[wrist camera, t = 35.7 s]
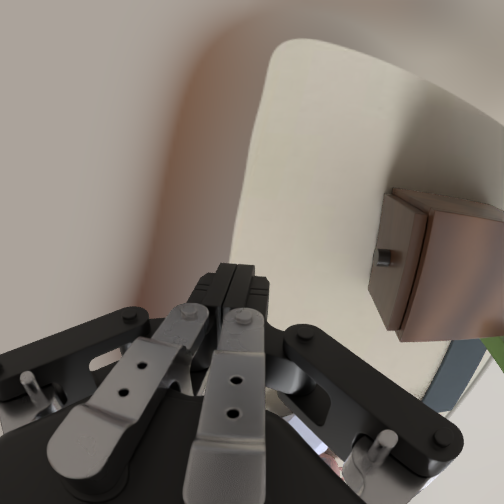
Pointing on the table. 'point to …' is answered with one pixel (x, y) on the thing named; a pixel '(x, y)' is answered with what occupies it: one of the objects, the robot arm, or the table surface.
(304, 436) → the wedge on round base
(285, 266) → the table surface
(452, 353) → the mat
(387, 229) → the drawer
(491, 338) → the long green square beam
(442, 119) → the table surface
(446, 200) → the cabinet
